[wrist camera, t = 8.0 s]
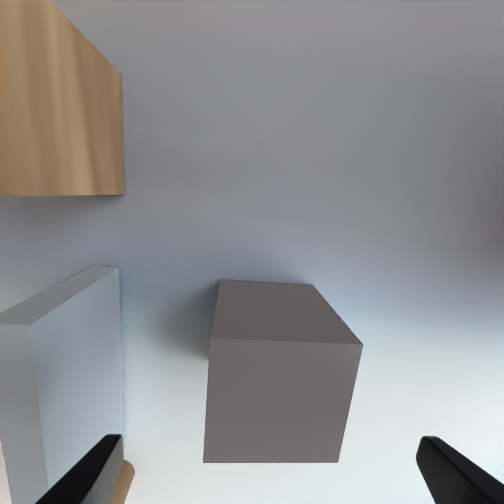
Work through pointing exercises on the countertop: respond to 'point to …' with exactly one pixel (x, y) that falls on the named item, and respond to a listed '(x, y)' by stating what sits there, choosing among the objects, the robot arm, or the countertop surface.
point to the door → (60, 379)
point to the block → (277, 375)
